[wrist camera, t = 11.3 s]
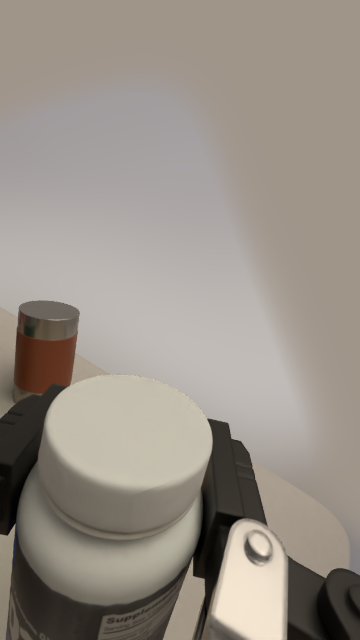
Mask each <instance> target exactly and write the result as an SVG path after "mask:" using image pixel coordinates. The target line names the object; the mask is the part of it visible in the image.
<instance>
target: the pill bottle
mask: <svg viewBox="0 0 360 640" xmlns="http://www.w3.org/2000/svg"><path fill="white" fill-rule="evenodd" d="M212 445H213V439H212V431H211V427H210V425H209V422H208V420H207V419H206V417H205V415H204V414H203V412H202V411H201V410H200V409H199V407H198V406H197V405H196V404H195V403H194V402H193V401H192V400H191V399H189V398H188V397H187V396H186V395H184V394H183V393H181V392H180V391H178V390H176V389H174V388H172V387H170V386H168V385H166V384H164V383H161V382H159V381H156V380H152V379H149V378H145V377H141V376H132V375H122V374H111V375H100V376H94V377H90V378H87V379H84V380H81V381H79V382H77V383H74V384H72V385H71V386H69V387H67V388H66V389H64V390H63V391H62V392H61V393H60V394H59V395H58V396H57V397H56V398H55V399H54V400H53V402H52V403H51V405H50V407H49V409H48V411H47V414H46V417H45V421H44V427H43V434H42V440H41V445H40V449H39V452H38V461H37V462H36V463H35V465H34V466H33V468H32V470H31V471H30V473H29V475H28V477H27V479H26V481H25V483H24V486H23V489H22V492H21V495H20V499H19V504H18V509H17V516H16V527H15V538H14V550H13V561H12V574H11V587H10V600H9V612H8V622H7V631H6V640H163V637H164V634H165V631H166V628H167V625H168V622H169V620H170V617H171V614H172V612H173V609H174V606H175V603H176V601H177V599H178V596H179V592H180V590H181V587H182V584H183V581H184V579H185V576H186V573H187V571H188V568H189V565H190V563H191V560H192V557H193V555H194V553H195V551H196V547H197V544H198V541H199V538H200V534H201V529H202V521H203V497H202V492H201V486H202V482H203V478H204V475H205V472H206V468H207V465H208V462H209V459H210V456H211V452H212Z"/></svg>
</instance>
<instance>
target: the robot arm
mask: <svg viewBox="0 0 360 640" xmlns="http://www.w3.org/2000/svg"><path fill="white" fill-rule="evenodd" d="M67 387H68V386H64V385H60V384H55V383H54V384H52V385H51V386H50V387H49V388H48V389H47V390H46V391H45V392H44V393H43V394H42V395H41V396H40V395H36V394H32V395H30V396H28V397H26V398H24V399H22V400H20V401H18V402H17V403H16V404H15V405H14V406H13V407H12V408H11V409H10V410H9V411H8V413H6V414H5V415H4V416H3V417H2V418H0V534H2V535H7V536H8V534H9V533H10V531H11V529H12V528H13V526H14V525H15V523H16V516H17V509H18V504H19V499H20V495H21V492H22V489H23V486H24V483H25V481H26V479H27V477H28V475H29V473H30V471H31V470H32V468H33V466H34V465H35V463H36V462H37V461H38V452H39V449H40V445H41V440H42V434H43V427H44V421H45V417H46V414H47V411H48V409H49V407H50V405H51V403H52V402H53V400H54V399H55V398H56V397H57V396H58V395H59V394H60V393H61V392H62V391H63V390H64V389H66V388H67ZM207 420H208V422H209V425H210V427H211V431H212V439H213V445H212V452H211V456H210V459H209V462H208V465H207V468H206V472H205V475H204V478H203V482H202V486H201V492H202V497H203V521H202V529H201V534H200V538H199V541H198V544H197V547H196V551H195V553H194V555H193V576H195V577H199V578H204V579H205V597H204V599H203V602H202V605H201V608H200V612H199V616H198V619H197V623H196V627H195V631H194V634H193V638H192V640H360V575H358V574H356V573H354V572H352V571H350V570H347V569H343V568H337V569H334V570H332V571H331V572H330V573H329V574H328V576H327V578H324V577H322V576H321V575H319V574H317V573H315V572H313V571H312V570H310V569H308V568H306V567H304V566H303V565H301V564H299V563H298V562H296V561H294V560H293V559H292V558H290V557H289V556H288V555H287V553H286V550H285V548H284V546H283V544H282V542H281V541H280V539H279V538H278V536H277V535H276V534H275V533H274V532H273V531H272V530H271V529H270V528H269V527H268V526H267V522H266V518H265V514H264V510H263V506H262V502H261V498H260V494H259V490H258V486H257V482H256V480H255V474H254V470H253V469H252V463H251V459H250V455H249V452H248V451H247V450H246V448H245V447H244V445H243V444H242V442H241V441H238V440H233V439H231V434H230V429H229V425H228V423H226V422H221V421H217V420H212V419H207Z"/></svg>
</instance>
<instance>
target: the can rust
mask: <svg viewBox="0 0 360 640" xmlns="http://www.w3.org/2000/svg"><path fill="white" fill-rule="evenodd" d="M79 314H80V313H79V311H78V310H77V309H76V308H75V307H73V306H71V305H68V304H64V303H60V302H54V301H31V302H26V303H23V304H21V305H20V306H19V313H18V326H17V336H16V352H15V369H14V394H13V398H14V401H15V403H17V402H18V401H20V400H22V399H24V398H26V397H28V396H30V395H32V394H36V395H40V396H41V395H42V394H43V393H44V392H45V391H46V390H47V389H48V388H49V387H50V386H51V385H52V384H54V383H55V384H60V385H64V386H68V387H69V386H70V384H71V380H72V372H73V364H74V357H75V348H76V341H77V334H78V322H79Z"/></svg>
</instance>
